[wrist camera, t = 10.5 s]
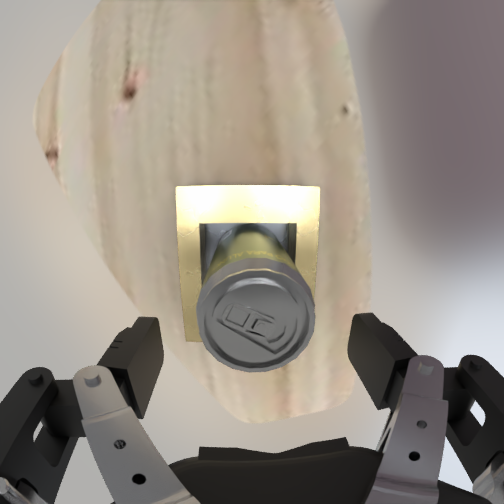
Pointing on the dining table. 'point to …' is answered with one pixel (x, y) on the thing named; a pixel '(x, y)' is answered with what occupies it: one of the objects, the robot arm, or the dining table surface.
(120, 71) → the dining table surface
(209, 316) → the beer can
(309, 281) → the socket block
